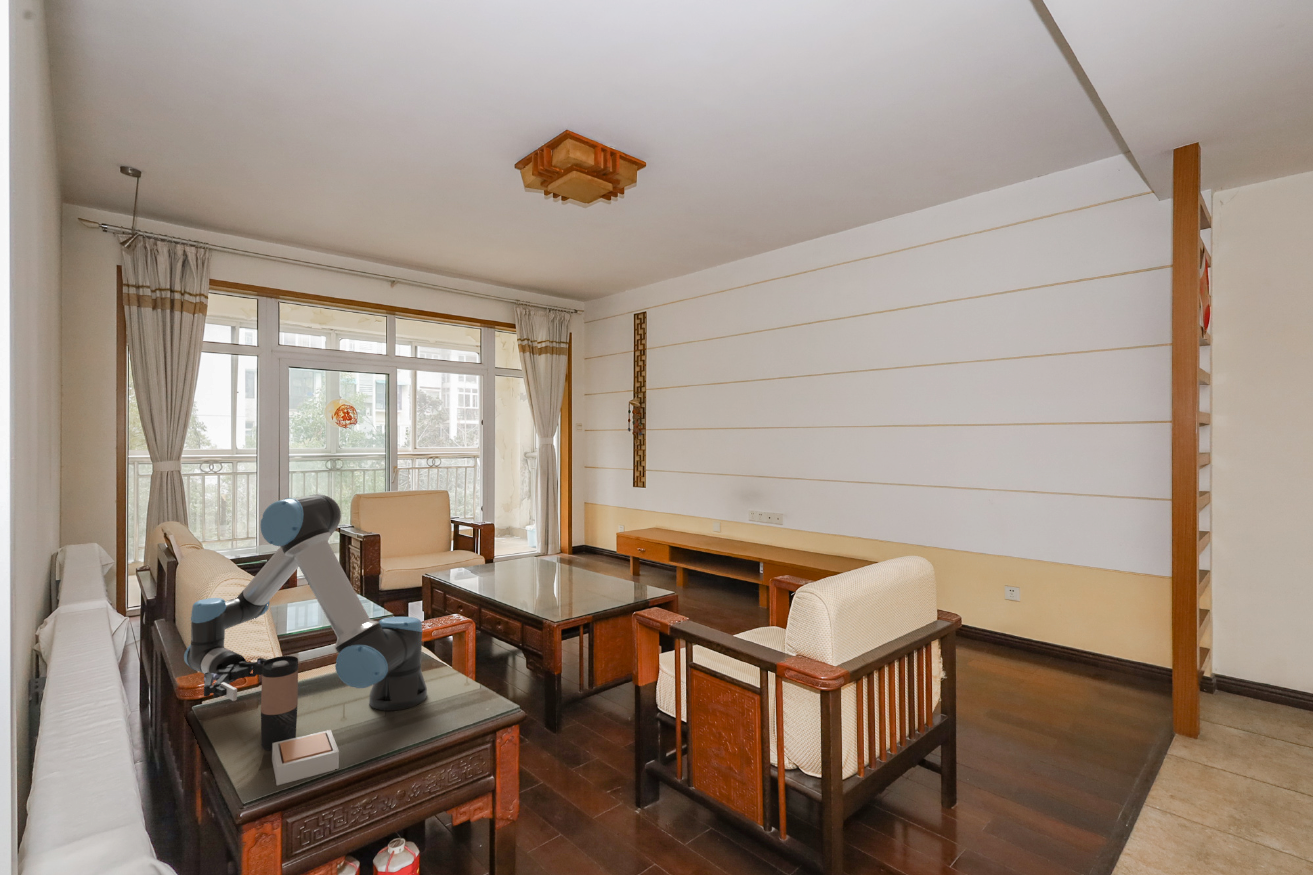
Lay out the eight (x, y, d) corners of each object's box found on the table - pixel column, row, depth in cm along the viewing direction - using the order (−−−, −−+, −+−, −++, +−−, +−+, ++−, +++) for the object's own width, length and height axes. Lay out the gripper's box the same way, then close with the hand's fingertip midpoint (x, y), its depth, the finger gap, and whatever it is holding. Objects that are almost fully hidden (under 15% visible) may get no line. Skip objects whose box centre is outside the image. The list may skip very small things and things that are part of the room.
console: (330, 745, 150) (330, 729, 150) (338, 768, 140) (339, 751, 140) (272, 760, 143) (272, 743, 143) (276, 785, 133) (277, 767, 133)
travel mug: (296, 732, 156) (297, 653, 156) (297, 745, 150) (299, 663, 149) (260, 739, 152) (261, 658, 152) (260, 754, 145) (261, 669, 145)
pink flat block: (324, 744, 148) (324, 732, 148) (330, 762, 141) (331, 749, 141) (279, 755, 143) (280, 742, 143) (283, 774, 135) (284, 761, 135)
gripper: (273, 665, 175) (315, 683, 164) (168, 695, 154) (207, 719, 143) (273, 638, 175) (315, 655, 164) (168, 666, 154) (208, 687, 143)
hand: (265, 685), depth 154 cm, fingers open, 13 cm apart
